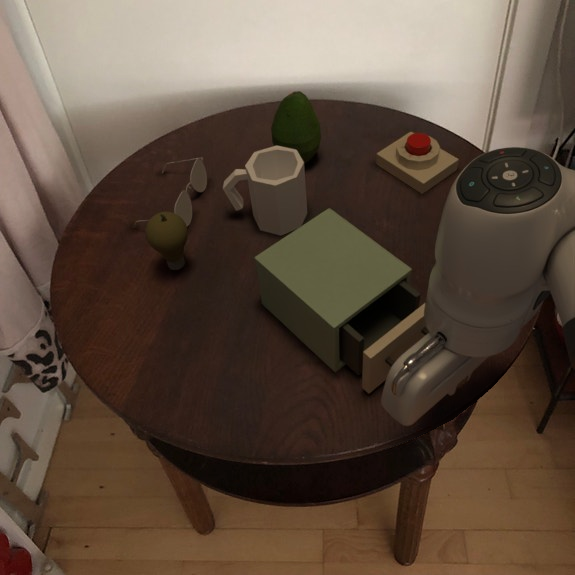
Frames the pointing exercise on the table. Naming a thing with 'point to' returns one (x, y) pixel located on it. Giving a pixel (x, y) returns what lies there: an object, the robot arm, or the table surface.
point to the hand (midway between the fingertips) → (453, 383)
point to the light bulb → (168, 237)
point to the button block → (417, 164)
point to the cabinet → (325, 280)
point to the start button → (418, 144)
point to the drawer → (382, 334)
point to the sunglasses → (197, 182)
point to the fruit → (296, 126)
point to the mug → (272, 189)
